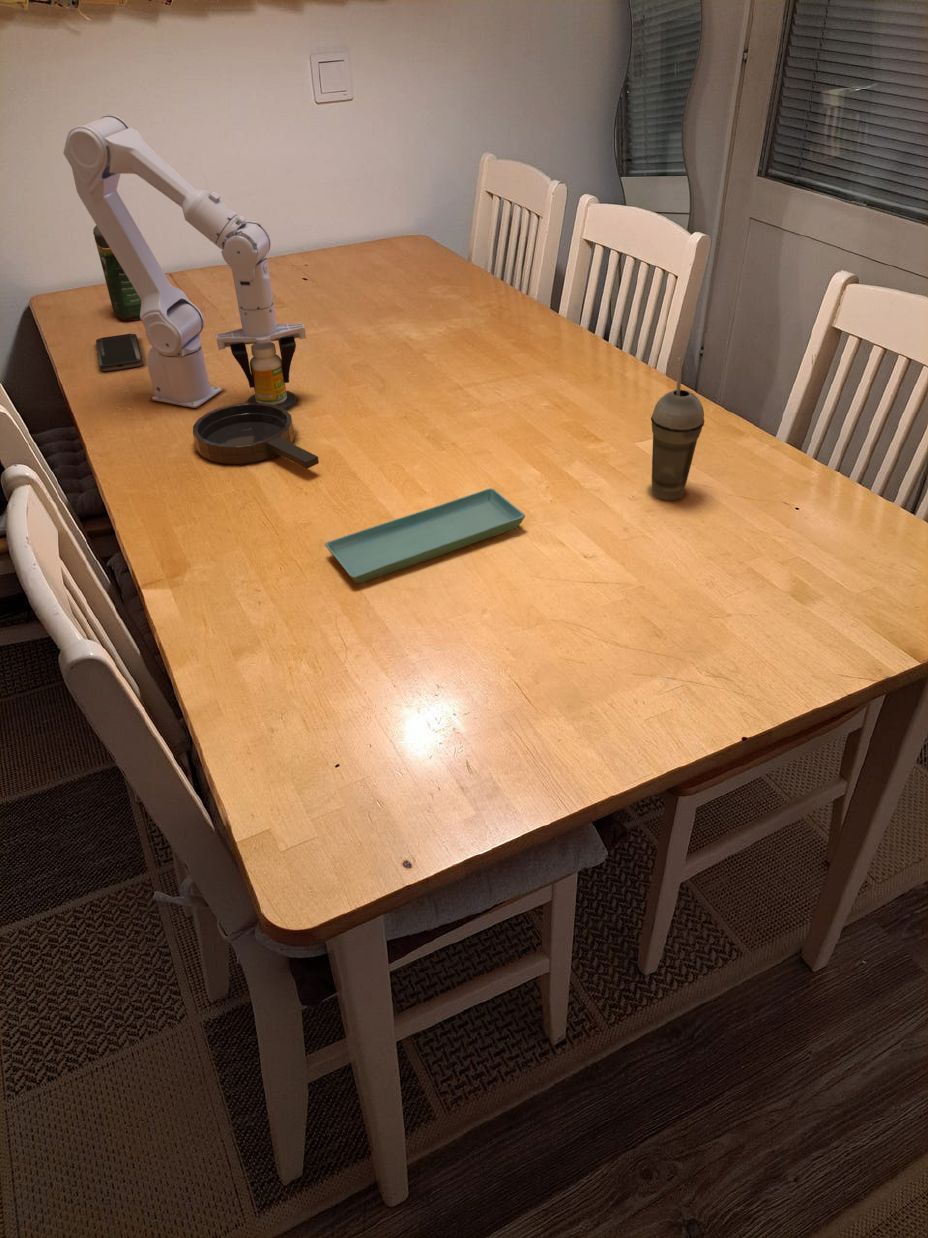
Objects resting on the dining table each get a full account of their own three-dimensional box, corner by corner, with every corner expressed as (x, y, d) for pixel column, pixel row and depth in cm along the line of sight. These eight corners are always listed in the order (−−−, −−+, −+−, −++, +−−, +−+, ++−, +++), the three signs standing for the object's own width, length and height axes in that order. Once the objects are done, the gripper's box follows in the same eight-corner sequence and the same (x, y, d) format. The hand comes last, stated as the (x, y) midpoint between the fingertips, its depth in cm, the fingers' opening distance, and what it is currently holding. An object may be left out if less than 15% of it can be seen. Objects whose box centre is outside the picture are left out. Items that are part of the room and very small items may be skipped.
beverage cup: (662, 510, 128) (681, 376, 116) (632, 487, 133) (646, 356, 121) (703, 497, 131) (725, 364, 118) (671, 475, 136) (690, 346, 123)
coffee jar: (158, 317, 192) (136, 225, 181) (120, 324, 189) (96, 231, 178) (147, 303, 199) (126, 213, 187) (110, 310, 196) (86, 219, 185)
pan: (176, 454, 144) (172, 436, 142) (233, 414, 155) (230, 396, 153) (260, 472, 139) (256, 453, 137) (312, 429, 150) (309, 411, 148)
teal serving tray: (353, 590, 115) (351, 575, 113) (325, 555, 121) (322, 540, 119) (526, 531, 125) (527, 515, 123) (492, 501, 131) (492, 486, 129)
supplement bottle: (280, 407, 155) (272, 352, 149) (251, 405, 156) (241, 350, 150) (291, 394, 160) (283, 340, 154) (262, 391, 160) (253, 338, 154)
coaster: (238, 408, 157) (237, 405, 156) (264, 389, 163) (264, 386, 162) (279, 416, 154) (279, 413, 154) (305, 396, 160) (304, 393, 160)
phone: (135, 332, 182) (142, 359, 171) (137, 338, 183) (143, 365, 172) (95, 338, 180) (99, 366, 169) (96, 344, 181) (100, 372, 170)
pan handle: (266, 448, 141) (264, 441, 140) (278, 442, 142) (277, 435, 142) (306, 469, 136) (305, 462, 135) (319, 463, 137) (318, 456, 136)
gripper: (212, 318, 143) (228, 398, 151) (304, 306, 146) (314, 386, 155) (209, 303, 148) (224, 381, 157) (297, 292, 151) (307, 370, 160)
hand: (268, 382), depth 156 cm, fingers closed on supplement bottle, 5 cm apart
